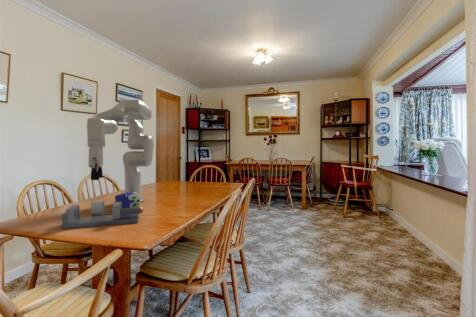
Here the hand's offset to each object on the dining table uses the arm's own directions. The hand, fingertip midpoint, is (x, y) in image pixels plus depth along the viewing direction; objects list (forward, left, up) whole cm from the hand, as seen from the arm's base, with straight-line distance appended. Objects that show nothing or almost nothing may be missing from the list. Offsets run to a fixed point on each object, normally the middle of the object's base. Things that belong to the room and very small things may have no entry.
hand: (97, 178), depth 129 cm
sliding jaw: (+11, +15, -17) cm, 25 cm away
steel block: (0, 0, -19) cm, 19 cm away
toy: (-12, +12, -19) cm, 26 cm away
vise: (+11, +4, -19) cm, 22 cm away
